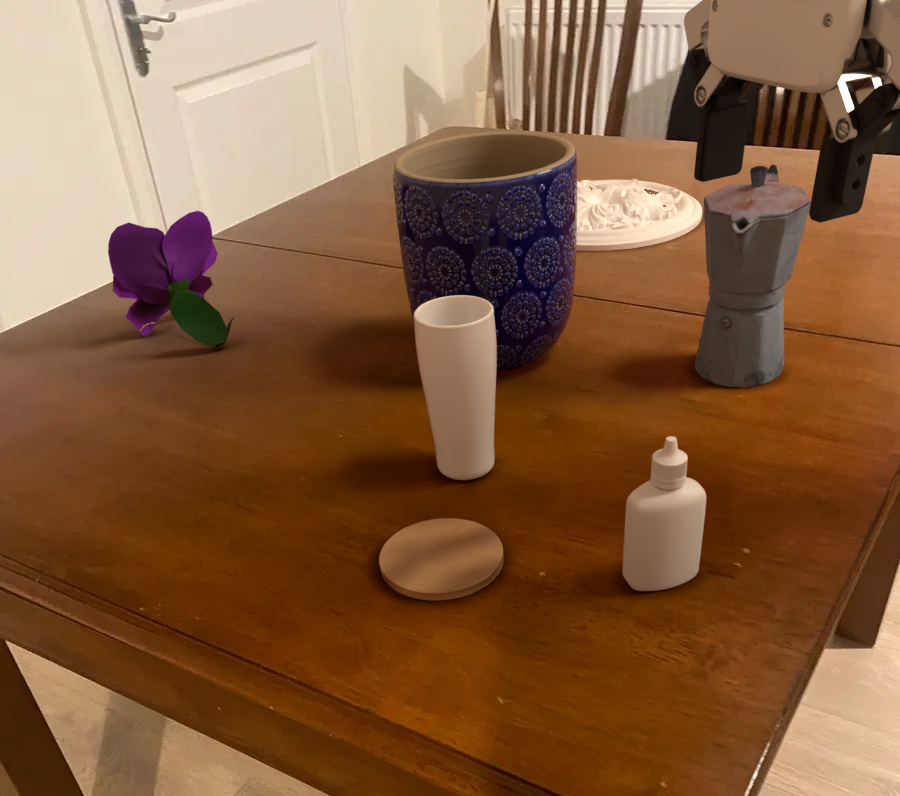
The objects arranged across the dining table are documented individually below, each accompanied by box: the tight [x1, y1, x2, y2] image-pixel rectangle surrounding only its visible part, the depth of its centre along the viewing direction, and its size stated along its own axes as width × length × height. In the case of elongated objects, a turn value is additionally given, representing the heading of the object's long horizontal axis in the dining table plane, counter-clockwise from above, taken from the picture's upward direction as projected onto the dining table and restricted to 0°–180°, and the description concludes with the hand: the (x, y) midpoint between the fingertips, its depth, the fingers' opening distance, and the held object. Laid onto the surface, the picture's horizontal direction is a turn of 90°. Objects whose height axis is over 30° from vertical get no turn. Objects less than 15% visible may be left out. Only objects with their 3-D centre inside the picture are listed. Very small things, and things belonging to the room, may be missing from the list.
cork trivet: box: [378, 517, 505, 602], centre depth 74 cm, size 10×10×1 cm
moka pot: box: [694, 164, 811, 388], centre depth 89 cm, size 10×15×20 cm, turn 158°
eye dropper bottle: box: [622, 435, 707, 592], centre depth 66 cm, size 4×6×12 cm
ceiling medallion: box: [576, 178, 703, 252], centre depth 134 cm, size 28×28×3 cm
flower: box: [107, 210, 236, 349], centre depth 110 cm, size 15×15×14 cm
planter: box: [391, 130, 578, 373], centre depth 97 cm, size 18×18×21 cm
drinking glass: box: [413, 295, 498, 481], centre depth 80 cm, size 7×7×15 cm
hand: (772, 195), depth 53 cm, fingers open, 9 cm apart
